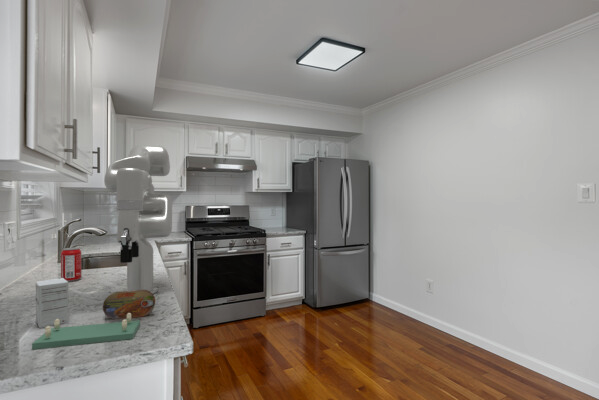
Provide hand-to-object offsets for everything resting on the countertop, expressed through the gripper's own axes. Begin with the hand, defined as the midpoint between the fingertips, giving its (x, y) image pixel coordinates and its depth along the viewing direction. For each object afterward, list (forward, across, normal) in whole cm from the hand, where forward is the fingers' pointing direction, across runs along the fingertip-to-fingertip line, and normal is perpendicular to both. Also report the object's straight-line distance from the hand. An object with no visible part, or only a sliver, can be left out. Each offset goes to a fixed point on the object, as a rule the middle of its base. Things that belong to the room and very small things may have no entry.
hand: (130, 259), depth 106 cm
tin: (+19, 0, 0) cm, 19 cm away
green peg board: (+18, +14, -7) cm, 24 cm away
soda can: (+18, -59, -37) cm, 72 cm away
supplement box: (+18, -1, -22) cm, 29 cm away
